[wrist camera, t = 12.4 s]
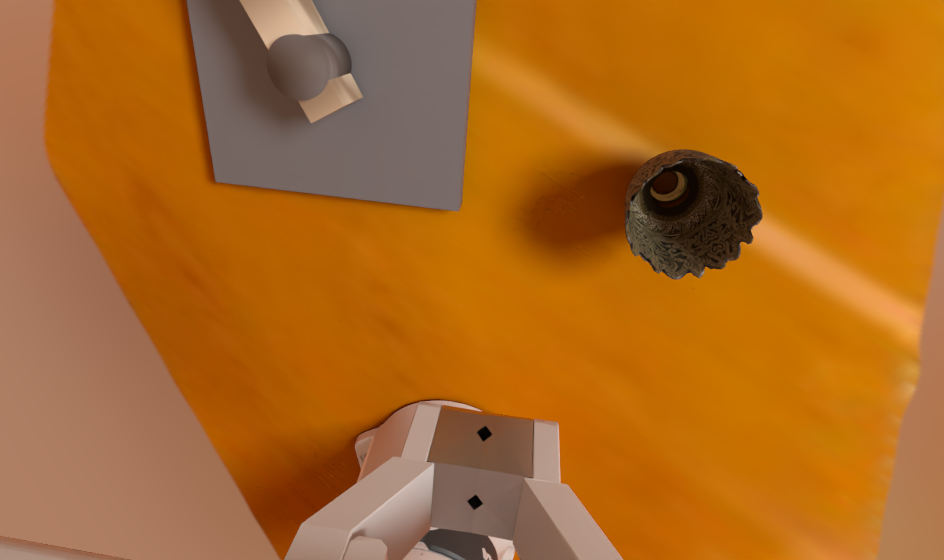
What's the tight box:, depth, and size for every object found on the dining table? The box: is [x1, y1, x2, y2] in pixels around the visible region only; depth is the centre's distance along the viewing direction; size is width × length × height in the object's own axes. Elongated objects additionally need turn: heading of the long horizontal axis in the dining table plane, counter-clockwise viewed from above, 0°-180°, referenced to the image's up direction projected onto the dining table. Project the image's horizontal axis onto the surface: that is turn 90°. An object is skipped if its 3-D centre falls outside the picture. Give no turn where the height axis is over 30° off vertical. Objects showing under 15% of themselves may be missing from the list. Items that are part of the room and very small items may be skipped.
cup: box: [625, 150, 762, 279], centre depth 33 cm, size 8×7×8 cm
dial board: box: [186, 0, 476, 211], centre depth 34 cm, size 24×19×2 cm
